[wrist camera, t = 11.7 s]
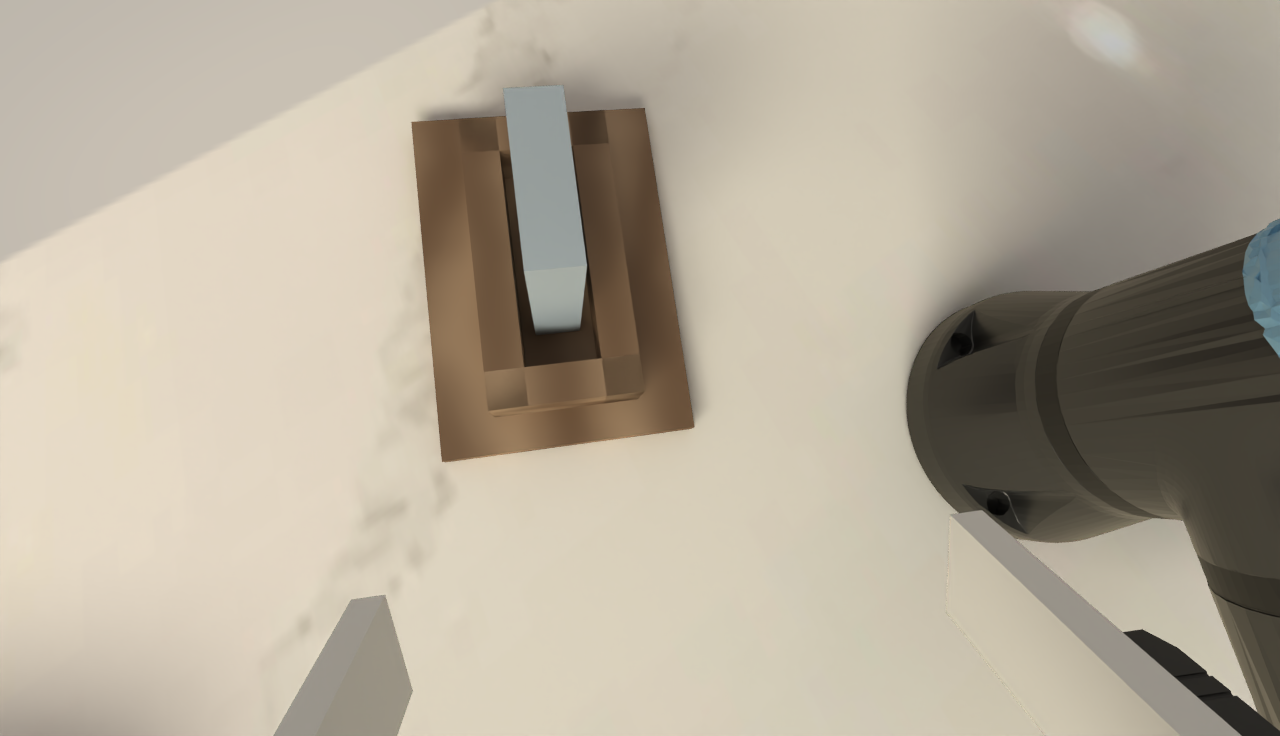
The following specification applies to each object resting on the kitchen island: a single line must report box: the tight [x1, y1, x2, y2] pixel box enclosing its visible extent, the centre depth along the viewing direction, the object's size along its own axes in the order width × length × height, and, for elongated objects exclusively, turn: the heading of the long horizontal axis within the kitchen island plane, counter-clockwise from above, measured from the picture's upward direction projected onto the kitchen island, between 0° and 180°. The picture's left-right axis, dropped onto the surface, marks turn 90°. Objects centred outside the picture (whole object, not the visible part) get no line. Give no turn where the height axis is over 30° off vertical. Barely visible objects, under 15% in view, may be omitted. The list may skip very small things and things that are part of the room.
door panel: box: [503, 85, 587, 335], centre depth 31 cm, size 2×8×11 cm, turn 8°
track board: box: [412, 108, 694, 462], centre depth 35 cm, size 14×20×4 cm
